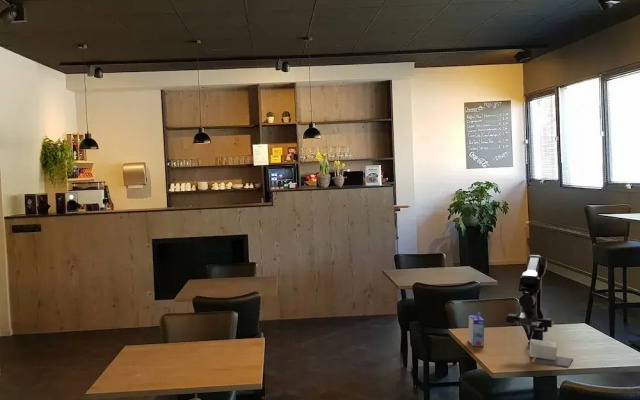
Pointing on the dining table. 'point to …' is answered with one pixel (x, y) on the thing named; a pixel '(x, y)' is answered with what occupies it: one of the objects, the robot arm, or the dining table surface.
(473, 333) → the ink cartridge box
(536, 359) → the mat
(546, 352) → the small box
